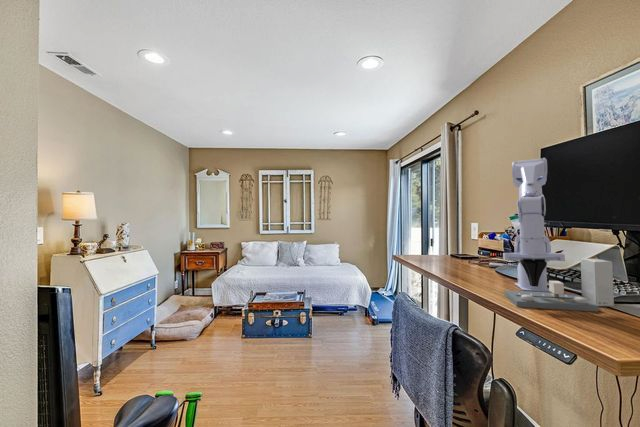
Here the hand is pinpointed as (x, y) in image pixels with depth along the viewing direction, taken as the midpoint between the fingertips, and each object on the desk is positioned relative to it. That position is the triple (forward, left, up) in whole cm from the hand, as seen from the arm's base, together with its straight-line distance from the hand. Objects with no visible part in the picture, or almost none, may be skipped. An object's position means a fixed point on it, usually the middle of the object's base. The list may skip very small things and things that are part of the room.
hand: (533, 285), depth 85 cm
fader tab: (0, +5, -3) cm, 6 cm away
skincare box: (-2, +15, -5) cm, 16 cm away
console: (0, +3, -5) cm, 5 cm away
